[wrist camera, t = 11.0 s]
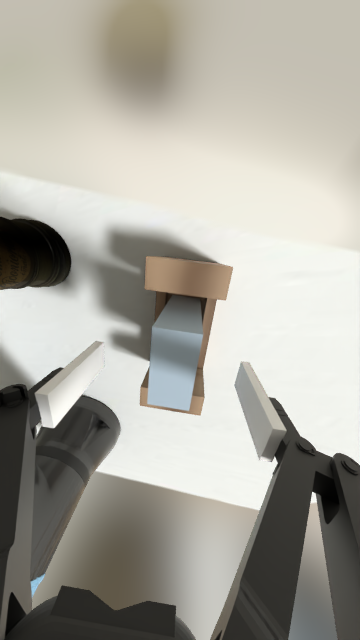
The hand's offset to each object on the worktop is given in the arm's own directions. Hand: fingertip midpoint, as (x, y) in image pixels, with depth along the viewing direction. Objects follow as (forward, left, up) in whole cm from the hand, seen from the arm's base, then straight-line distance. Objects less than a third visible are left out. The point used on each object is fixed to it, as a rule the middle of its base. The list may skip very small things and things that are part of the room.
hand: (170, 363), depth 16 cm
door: (0, 0, -10) cm, 10 cm away
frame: (0, 0, -11) cm, 11 cm away
